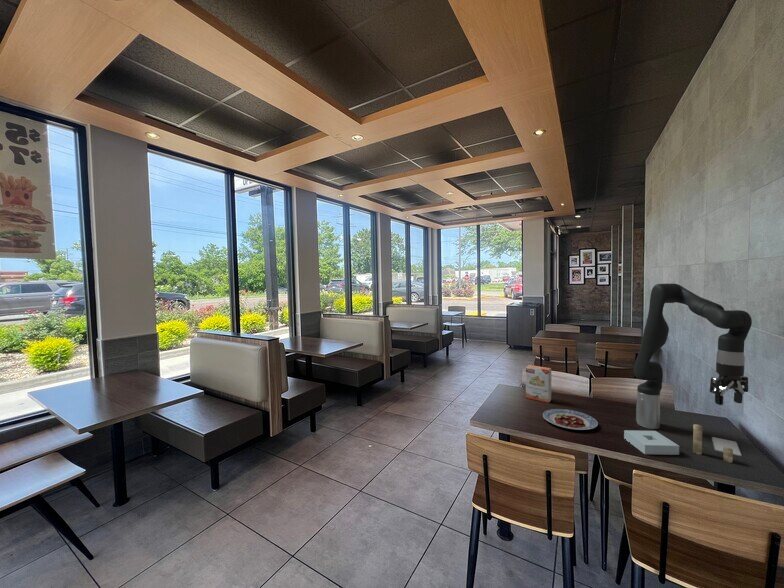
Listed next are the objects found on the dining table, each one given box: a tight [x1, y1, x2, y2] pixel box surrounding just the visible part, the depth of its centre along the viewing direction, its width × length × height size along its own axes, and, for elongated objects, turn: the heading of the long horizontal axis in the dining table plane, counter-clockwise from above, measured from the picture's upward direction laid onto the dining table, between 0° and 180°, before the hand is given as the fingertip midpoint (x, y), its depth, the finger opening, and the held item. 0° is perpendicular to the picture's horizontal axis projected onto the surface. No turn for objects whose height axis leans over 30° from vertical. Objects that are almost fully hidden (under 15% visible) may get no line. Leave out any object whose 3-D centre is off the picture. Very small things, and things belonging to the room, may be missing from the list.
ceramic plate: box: [542, 408, 599, 431], centre depth 174 cm, size 26×26×3 cm
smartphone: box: [711, 436, 743, 457], centre depth 146 cm, size 8×1×15 cm
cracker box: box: [525, 364, 552, 404], centre depth 207 cm, size 14×6×21 cm, turn 48°
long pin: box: [692, 423, 703, 456], centre depth 141 cm, size 3×3×12 cm
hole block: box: [623, 429, 680, 456], centre depth 148 cm, size 14×14×4 cm
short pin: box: [722, 447, 734, 464], centre depth 135 cm, size 3×3×5 cm
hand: (728, 403), depth 126 cm, fingers open, 8 cm apart
